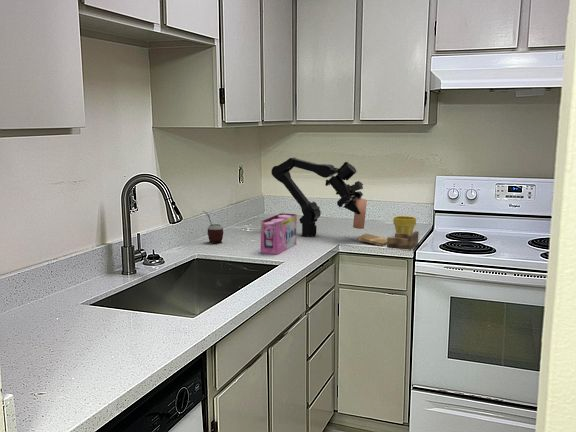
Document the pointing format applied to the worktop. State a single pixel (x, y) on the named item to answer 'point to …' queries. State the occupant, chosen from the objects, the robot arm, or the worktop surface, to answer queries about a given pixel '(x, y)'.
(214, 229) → the mate gourd
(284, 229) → the gum box
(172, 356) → the worktop surface
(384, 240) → the brown wooden flat block
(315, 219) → the robot arm
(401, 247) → the open wooden box
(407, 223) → the plant pot
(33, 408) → the worktop surface
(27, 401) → the worktop surface
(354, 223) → the post
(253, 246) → the worktop surface
